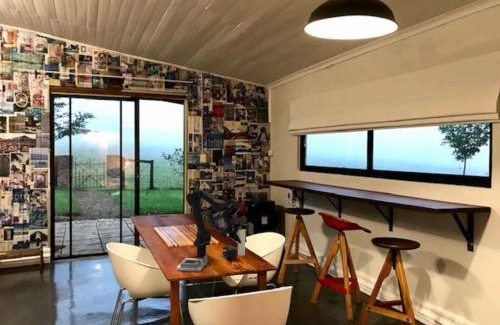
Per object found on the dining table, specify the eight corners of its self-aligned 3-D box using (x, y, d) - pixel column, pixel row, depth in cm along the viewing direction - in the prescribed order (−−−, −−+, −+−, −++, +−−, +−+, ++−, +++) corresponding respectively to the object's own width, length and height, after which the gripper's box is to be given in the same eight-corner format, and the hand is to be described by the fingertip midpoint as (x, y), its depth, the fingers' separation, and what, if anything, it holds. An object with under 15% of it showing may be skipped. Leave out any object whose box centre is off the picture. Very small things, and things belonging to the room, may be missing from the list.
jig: (185, 260, 236) (185, 253, 236) (207, 261, 235) (207, 254, 235) (176, 270, 217) (176, 261, 217) (200, 271, 216) (200, 262, 216)
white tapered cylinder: (239, 253, 230) (239, 228, 229) (245, 254, 228) (246, 229, 228) (236, 255, 226) (237, 230, 225) (243, 255, 224) (243, 230, 224)
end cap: (238, 259, 241) (238, 248, 241) (226, 260, 239) (226, 249, 239) (233, 255, 251) (233, 244, 251) (222, 256, 249) (222, 245, 248)
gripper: (225, 213, 222) (239, 236, 215) (248, 209, 236) (262, 231, 229) (214, 225, 227) (228, 248, 220) (237, 221, 241) (251, 243, 234)
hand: (243, 242), depth 226 cm, fingers closed on white tapered cylinder, 4 cm apart
